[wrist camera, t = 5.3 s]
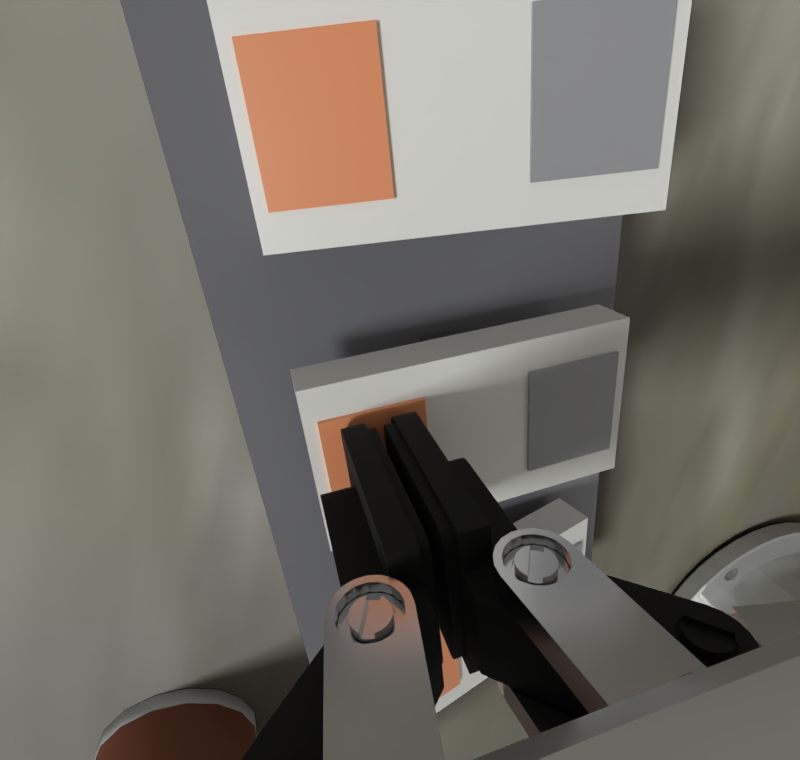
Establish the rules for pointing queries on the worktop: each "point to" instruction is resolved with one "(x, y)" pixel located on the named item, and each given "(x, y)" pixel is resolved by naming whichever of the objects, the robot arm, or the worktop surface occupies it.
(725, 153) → the worktop surface
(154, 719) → the coffee cup
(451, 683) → the plate
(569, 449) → the rocker middle
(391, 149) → the rocker near
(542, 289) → the rocker switch panel
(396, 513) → the robot arm
